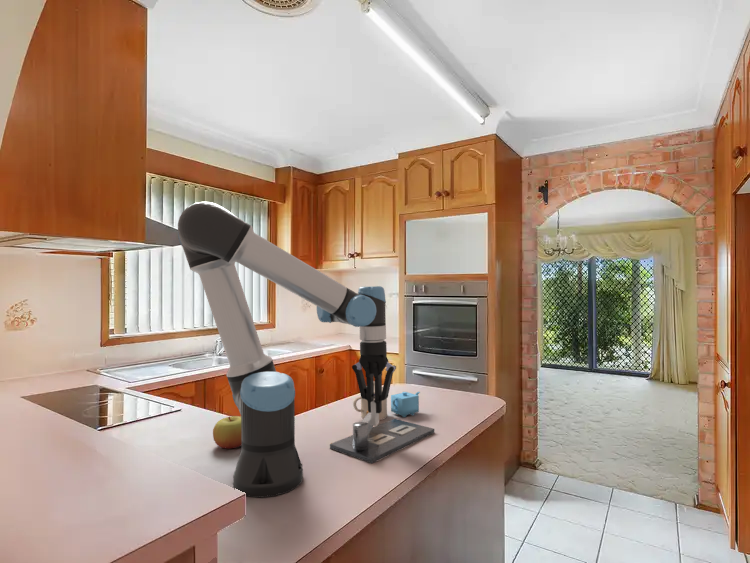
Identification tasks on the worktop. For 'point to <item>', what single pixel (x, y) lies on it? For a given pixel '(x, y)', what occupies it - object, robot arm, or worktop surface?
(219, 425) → the apple
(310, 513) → the worktop surface
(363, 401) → the teacup with lid
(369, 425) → the grey bar
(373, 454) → the plate
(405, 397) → the teapot
